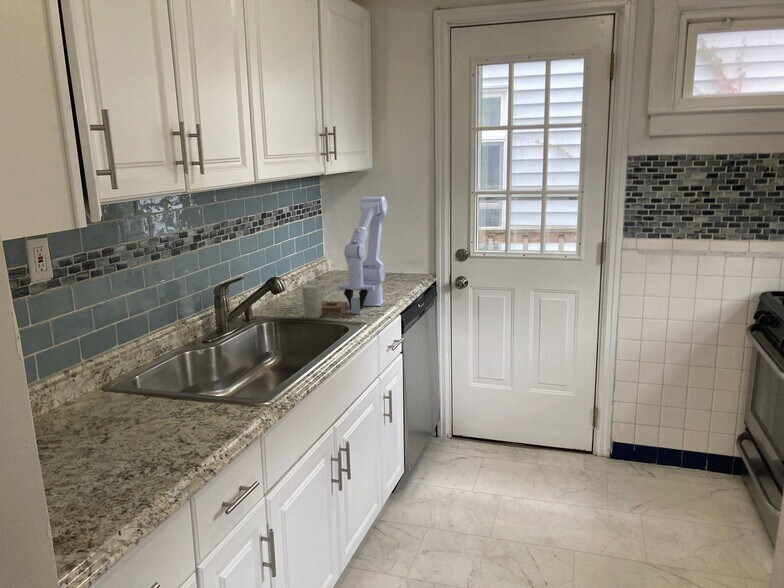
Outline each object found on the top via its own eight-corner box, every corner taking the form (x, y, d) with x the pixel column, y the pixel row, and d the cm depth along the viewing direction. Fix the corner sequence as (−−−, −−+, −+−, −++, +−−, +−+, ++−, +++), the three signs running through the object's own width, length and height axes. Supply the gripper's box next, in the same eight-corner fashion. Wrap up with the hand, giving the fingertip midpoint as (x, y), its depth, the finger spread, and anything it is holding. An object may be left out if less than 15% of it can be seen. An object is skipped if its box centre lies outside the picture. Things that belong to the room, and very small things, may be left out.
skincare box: (322, 315, 250) (320, 284, 247) (318, 318, 245) (316, 287, 243) (307, 314, 251) (305, 284, 249) (302, 317, 247) (301, 286, 245)
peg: (353, 311, 255) (353, 296, 253) (362, 311, 254) (361, 296, 253) (351, 313, 251) (350, 298, 250) (360, 313, 250) (359, 298, 249)
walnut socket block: (322, 307, 263) (321, 301, 263) (347, 307, 261) (347, 301, 260) (312, 313, 253) (312, 307, 252) (339, 314, 251) (339, 308, 250)
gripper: (334, 275, 247) (336, 310, 250) (371, 276, 244) (372, 311, 247) (340, 272, 254) (341, 306, 257) (375, 273, 251) (376, 307, 253)
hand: (356, 308), depth 252 cm, fingers closed on peg, 3 cm apart
